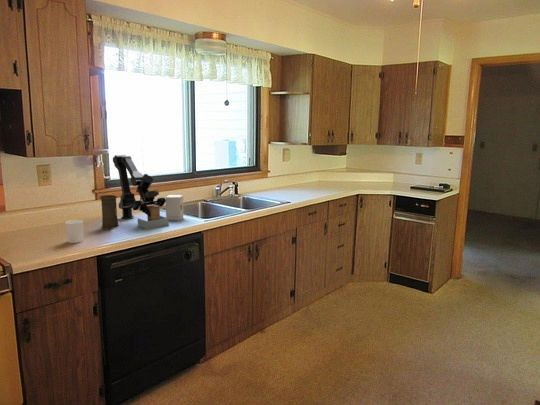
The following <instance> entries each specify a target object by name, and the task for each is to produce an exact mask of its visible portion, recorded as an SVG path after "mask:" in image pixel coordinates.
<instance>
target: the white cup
mask: <svg viewBox="0 0 540 405" xmlns="http://www.w3.org/2000/svg"><path fill="white" fill-rule="evenodd" d="M65 229H66V230H65V231H66V236H67V242H68V243H69V244H77V243H81V242H82V243H83V241H84V220H83V219H72V220H68V221H67V220H66V221H65Z"/></svg>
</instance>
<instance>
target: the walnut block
mask: <svg viewBox="0 0 540 405" xmlns="http://www.w3.org/2000/svg"><path fill="white" fill-rule="evenodd" d="M147 208H148V210H149V212H150V214H151V217H149V216H148V215H147V214H146V216H147V221H152V220H158V219H160V216H161V213H160V211H161V210H160V208H161V207H160V206H157V205H148V206H147Z"/></svg>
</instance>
